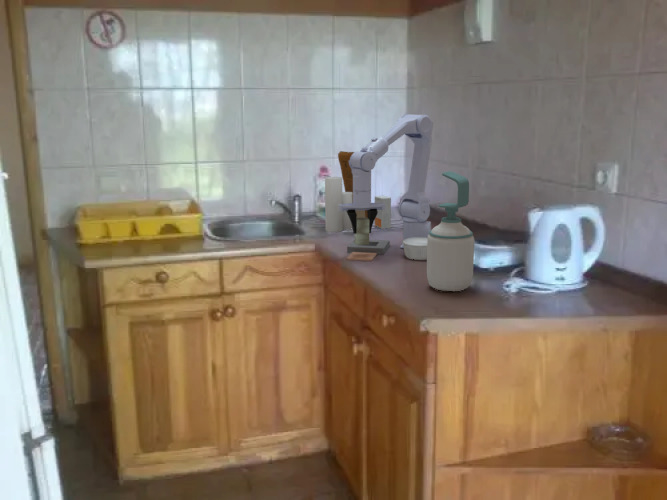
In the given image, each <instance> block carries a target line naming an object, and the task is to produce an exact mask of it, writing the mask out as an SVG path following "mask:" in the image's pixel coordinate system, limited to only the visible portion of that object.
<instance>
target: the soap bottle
mask: <svg viewBox="0 0 667 500" xmlns="http://www.w3.org/2000/svg"><path fill="white" fill-rule="evenodd" d="M441 176H443V177H444V178H447V179H449V180H452V181H454V182H455V183H456V185H457V203H455V202H454V203H453V202H444V203H441V204H438V208H443V209H444V212H447V214H446V215H447V216H445V217H441V221H440V223H439V224H438V225H436V226H434V227H433V228H431V231H429V235H428V238H427V260H426V278H427V282H428V284H429V286H430V287H431V288H433V289H434V288H436V289H439V290H462V289H465V288H466V289H467V288H469V287H471V284H472V281H473V278H474V260H475V259H474V255H475V237H474V233H473V231H471V230H470V229H469V227H467V226H466V225H464V224H463V223H462V218H461V217H457V216H456V213H457V212H459V208H463V207H466V206H468V205H469V202H470V201H469V199H470V198H469V196H470V181H469V179H468V178H467V177H466V176H463V175H461V174H458V173H457V172H454V171H450V170H449V171H445V172H442V173H441ZM436 289H435V290H436ZM466 289H465V290H466Z"/></svg>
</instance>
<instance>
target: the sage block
mask: <svg viewBox="0 0 667 500" xmlns="http://www.w3.org/2000/svg"><path fill="white" fill-rule="evenodd" d="M356 229H357V231H356V234H354V240H355V243H356V245H369V240H370V233H369V219H368V218H367V217H362V218H356Z"/></svg>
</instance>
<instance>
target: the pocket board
mask: <svg viewBox="0 0 667 500" xmlns="http://www.w3.org/2000/svg"><path fill="white" fill-rule="evenodd" d="M390 242H391V241H390V240H387V239H386V240H383V239H382V240H381V239H369V245H356V243H355V239H353V241H352V242H350V244H349V245H347V247H346V250H347V251H346V253H347V254H351V253H352V252H364V253H377V255H384V254H385V253H386V252H387V250H388V249H389V247H390Z"/></svg>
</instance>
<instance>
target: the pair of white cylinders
mask: <svg viewBox="0 0 667 500" xmlns="http://www.w3.org/2000/svg"><path fill="white" fill-rule="evenodd" d="M351 203H352V192H345V191H343V178H342V176H328V177H327V176H325V177H324V208H325V210H324V211H325V212H324V213H325V218H324V220H325V221H324V222H325V224H324V225H325V232H329V233H340V232H343V230H344V229H345V230H344V231H347V230H346V229H350V230H352V229H353V228H352V224H351V221H350V218H349V216H348V214H347V211H341V212H340V211H339V205H340V204H351ZM351 228H352V229H351Z"/></svg>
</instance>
